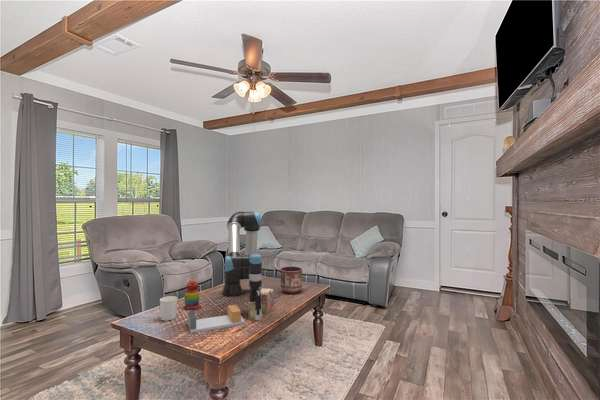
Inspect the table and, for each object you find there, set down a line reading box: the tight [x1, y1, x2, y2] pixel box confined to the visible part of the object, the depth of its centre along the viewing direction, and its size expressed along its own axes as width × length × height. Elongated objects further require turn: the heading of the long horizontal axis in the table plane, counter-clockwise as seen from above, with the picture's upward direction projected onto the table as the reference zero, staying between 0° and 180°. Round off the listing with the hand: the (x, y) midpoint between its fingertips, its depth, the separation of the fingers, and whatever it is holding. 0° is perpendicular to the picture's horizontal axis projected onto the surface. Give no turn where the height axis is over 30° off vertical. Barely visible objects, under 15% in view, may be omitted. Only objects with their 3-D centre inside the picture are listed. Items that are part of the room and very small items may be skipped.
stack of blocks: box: [259, 287, 275, 314], centre depth 202 cm, size 21×6×12 cm, turn 174°
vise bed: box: [187, 310, 246, 334], centre depth 175 cm, size 14×30×8 cm, turn 115°
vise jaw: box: [227, 303, 242, 323], centre depth 179 cm, size 12×5×6 cm, turn 25°
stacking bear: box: [183, 279, 202, 311], centre depth 201 cm, size 11×10×18 cm
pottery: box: [279, 266, 303, 295], centre depth 237 cm, size 18×18×18 cm
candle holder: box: [159, 295, 178, 322], centre depth 182 cm, size 10×10×12 cm
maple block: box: [248, 301, 263, 321], centre depth 184 cm, size 5×7×9 cm
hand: (255, 317), depth 184 cm, fingers open, 8 cm apart
